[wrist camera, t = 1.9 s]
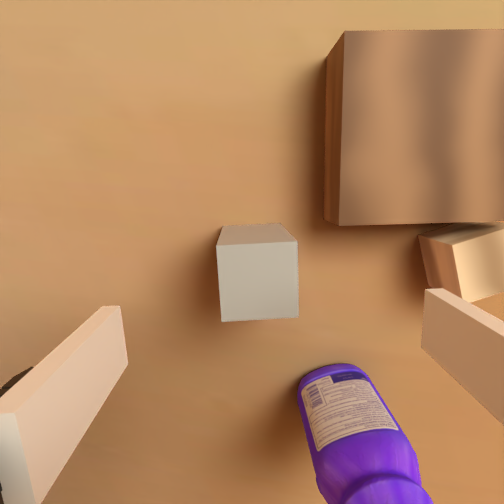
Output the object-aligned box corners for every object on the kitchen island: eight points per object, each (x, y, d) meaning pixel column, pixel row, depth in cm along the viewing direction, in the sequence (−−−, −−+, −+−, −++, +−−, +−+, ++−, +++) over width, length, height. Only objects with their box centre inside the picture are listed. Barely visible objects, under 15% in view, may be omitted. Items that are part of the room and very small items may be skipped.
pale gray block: (226, 280, 30) (221, 321, 21) (223, 225, 29) (216, 245, 20) (281, 277, 30) (298, 317, 21) (279, 223, 29) (297, 241, 20)
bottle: (302, 420, 33) (367, 669, 16) (287, 372, 32) (341, 586, 15) (371, 400, 33) (510, 631, 16) (359, 351, 32) (495, 544, 15)
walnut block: (322, 218, 30) (338, 225, 25) (325, 58, 27) (344, 30, 22) (464, 214, 30) (509, 220, 25) (482, 56, 27) (535, 28, 22)
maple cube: (427, 285, 31) (463, 304, 26) (417, 234, 30) (452, 245, 25) (479, 268, 31) (525, 285, 26) (470, 217, 30) (516, 225, 25)
